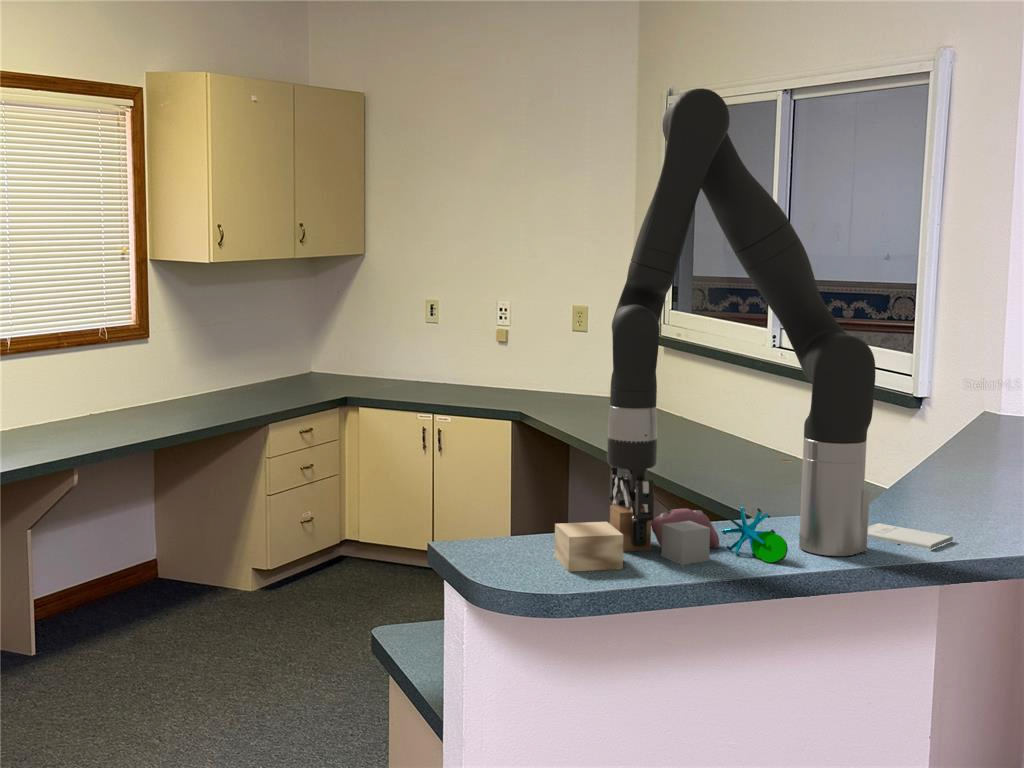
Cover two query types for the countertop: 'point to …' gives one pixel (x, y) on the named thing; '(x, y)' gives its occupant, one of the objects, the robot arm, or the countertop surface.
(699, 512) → the video game controller
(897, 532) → the external hard drive
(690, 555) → the grey cube
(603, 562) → the birch block
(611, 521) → the walnut block
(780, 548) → the stick construction toy
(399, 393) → the countertop surface
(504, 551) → the countertop surface
